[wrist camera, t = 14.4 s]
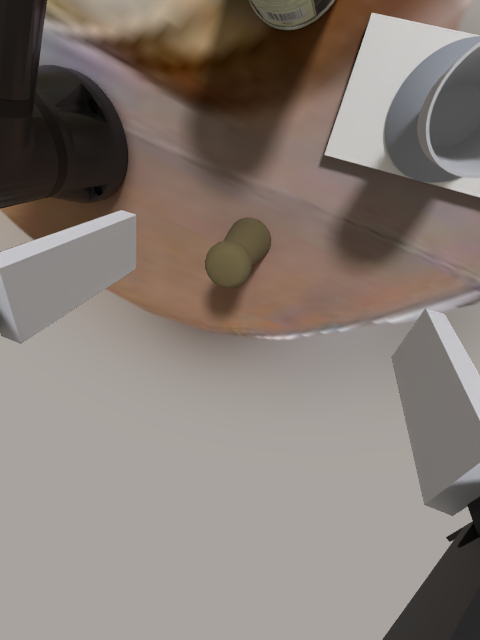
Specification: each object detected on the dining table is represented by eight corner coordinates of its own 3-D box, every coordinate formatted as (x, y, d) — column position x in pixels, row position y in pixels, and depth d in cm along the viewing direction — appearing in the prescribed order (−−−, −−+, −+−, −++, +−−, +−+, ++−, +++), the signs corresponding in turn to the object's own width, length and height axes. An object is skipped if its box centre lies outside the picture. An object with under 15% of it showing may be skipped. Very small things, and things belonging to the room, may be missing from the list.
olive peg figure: (258, 269, 42) (235, 305, 33) (221, 247, 42) (189, 277, 33) (279, 232, 39) (260, 262, 30) (240, 208, 38) (209, 231, 29)
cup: (529, 106, 25) (618, 92, 17) (438, 185, 30) (473, 202, 22) (469, 33, 24) (533, -19, 16) (383, 126, 29) (399, 122, 21)
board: (324, 154, 33) (324, 154, 31) (370, 17, 26) (372, 11, 25) (512, 205, 30) (520, 208, 29) (612, 69, 24) (627, 65, 23)
